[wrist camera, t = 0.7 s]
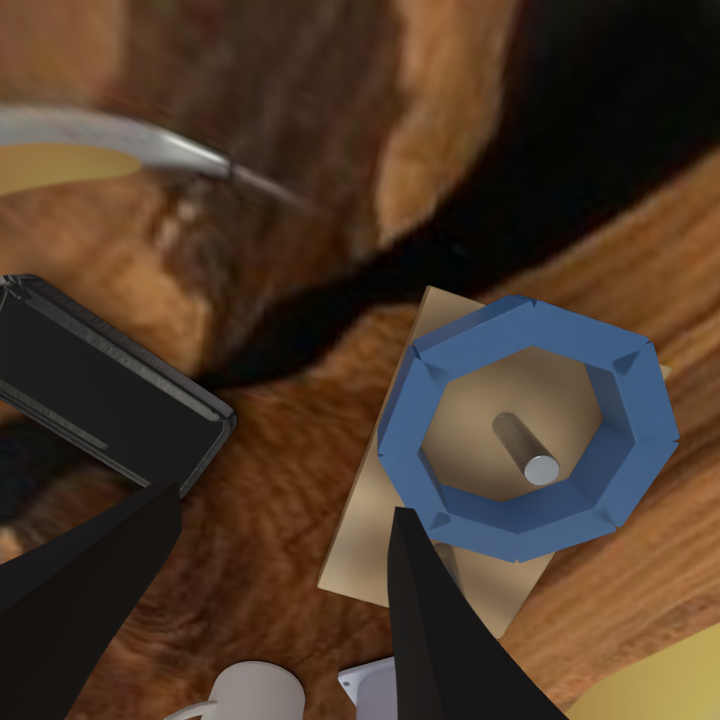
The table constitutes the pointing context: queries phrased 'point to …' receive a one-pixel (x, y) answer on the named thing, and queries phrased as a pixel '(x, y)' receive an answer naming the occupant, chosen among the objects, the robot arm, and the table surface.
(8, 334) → the phone
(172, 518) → the robot arm
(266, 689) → the mug
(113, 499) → the table surface
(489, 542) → the ring
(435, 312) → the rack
